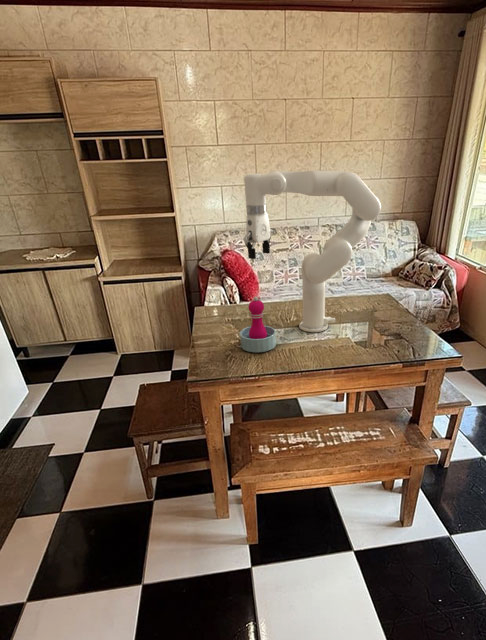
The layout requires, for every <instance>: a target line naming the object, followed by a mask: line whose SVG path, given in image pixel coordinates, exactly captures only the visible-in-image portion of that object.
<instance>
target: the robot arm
mask: <svg viewBox="0 0 486 640" xmlns="http://www.w3.org/2000/svg"><path fill="white" fill-rule="evenodd" d="M243 179H244V180H243V183H244V194H245V208H246V221H245V223H246V224H245V226H246V227H245V229H246V230H245V231H246V234H245V235H244V237H243V242H244V245H245V247H246V249H247V255H248V257H247V258H248V259H250V260H256V258H257V253H256V248H255V246H256V243H258V244H259V243H262V244H261V247H262V248H261V249H262V253H263V254H267V255H268V254H271V248H270V247H271V245H270V243H271V239H272V233H273V231H272V229H271V225H270V219H269V214H268V212H267V198H266V197H267V196H266V195H268V196H269V195H271V196H279V195H282V194H283V193H285V194H286V193H287V194H288V193H289V194H290V193H291V194H301V195H305V196H307V197H309V196H310V197H343V199H344V200H345V201H346V202H347V204H348V205H349V206H350V207H351V216H350V219H349V220H348V221H347V223H346V224H345V225H344V226H342V228H340V229H339V230H338V231H337V232H336V233H334V234H333V235H332V236H331V237H329V238H328V239H327V240H326V241H325V242H324V245H323V251H322V252H321V254H319V253H316V252H311V253H308V254H307V255H306V256H304V258H303V260H302V262H301V278H302V281H301V282H302V321H301V322H299V324H298V327H299V329H300V330H301V331H304V332H307V333H320V332H323V331H326V330H327V329H328V328H329V323H336V318H335V317H332V316H325V315H326V314H325V313H326V282H327V281H328V280H329V279H330V278H332V277H333V276H334V275H335V274H337V272H339V271H340V270H341V269H342V268H344V267H345V266H346V265H347V264H348V263H349V262H350V260H351V258H352V256H353V248H354V247H355V246H356V245H357V244H358V243H359V242H360V241H362V239H364V238H365V236H366V235H367V234H368V232H369V230H370V227H371V223H372V221H374V220H376V219H377V218H378V217H379V215H380V214H381V211H382V204H381V201H380V199H379V198H378V197H377V196H376V195H375V193H373V191H372V190H371V189H370V188H369V187H368V185H367V184H366V183H365V182H364V181H363V180H362V178H361V177H360V176H359V175H358V174H356V173H355V172H351V171H346V170H305V171H301V170H300V171H296V170H295V171H291V170H289V171H288V170H287V171H286V170H284V171H283V170H273V171H269V172H268V173H266V174H265V173H264V174H263V173H247V174H245V176H244V177H243Z"/></svg>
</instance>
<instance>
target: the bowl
mask: <svg viewBox="0 0 486 640" xmlns="http://www.w3.org/2000/svg"><path fill="white" fill-rule="evenodd" d="M251 326H252V325H250V326H247V327H244V328H242V329H241V330H240V332H239V341H240V348H241V349H242V350H244V351H245V352H248V353H249V352H250V353H255V354H256V353H257V354H258V353H265V352H268V351H269V352H270V351H271V350H273V349H274V348H276V346H277V331H276V329H275V328H274V327H272V326H269V325H264V327H265V329H266V331H267V337H266V338H263V339H250V337H249V331H250V328H251Z"/></svg>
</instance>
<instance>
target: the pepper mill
mask: <svg viewBox="0 0 486 640" xmlns="http://www.w3.org/2000/svg"><path fill="white" fill-rule="evenodd" d="M264 309H265V305H264V303H263V302H262V301H261V300H259V298H258V296H254V297H253V300H251V301H250V302H249V304H248V311H249V312H250V315H249V317H250V318H251V325H250V326H251V328H250V331H249V337H250V339H263V338H266V337H267V331H266V329H265V327H264V326H265V324H264V322H263V317H264Z"/></svg>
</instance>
